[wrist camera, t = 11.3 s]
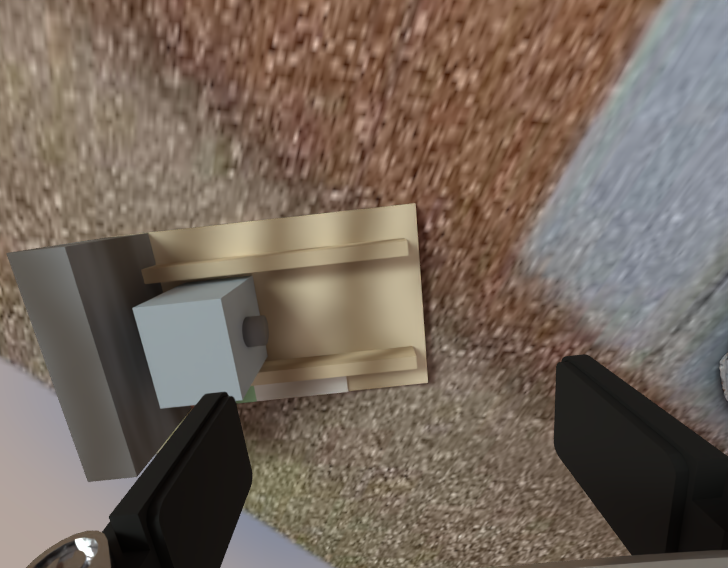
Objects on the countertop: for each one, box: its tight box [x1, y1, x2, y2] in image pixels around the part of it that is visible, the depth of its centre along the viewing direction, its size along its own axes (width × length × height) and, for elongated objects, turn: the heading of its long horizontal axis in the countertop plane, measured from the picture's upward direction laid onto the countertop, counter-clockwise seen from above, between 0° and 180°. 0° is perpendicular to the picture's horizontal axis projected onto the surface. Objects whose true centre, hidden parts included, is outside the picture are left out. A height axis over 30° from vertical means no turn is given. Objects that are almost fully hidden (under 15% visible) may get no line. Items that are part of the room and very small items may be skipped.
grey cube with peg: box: [132, 275, 269, 409], centre depth 24 cm, size 6×10×6 cm, turn 6°
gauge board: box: [6, 203, 428, 482], centre depth 23 cm, size 22×14×8 cm, turn 96°
